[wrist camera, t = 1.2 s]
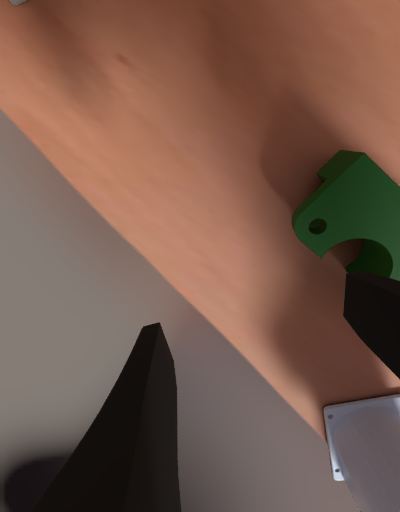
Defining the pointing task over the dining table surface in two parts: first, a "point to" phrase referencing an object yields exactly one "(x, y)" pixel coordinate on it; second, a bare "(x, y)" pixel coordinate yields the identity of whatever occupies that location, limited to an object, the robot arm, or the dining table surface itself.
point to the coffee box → (16, 2)
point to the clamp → (354, 213)
